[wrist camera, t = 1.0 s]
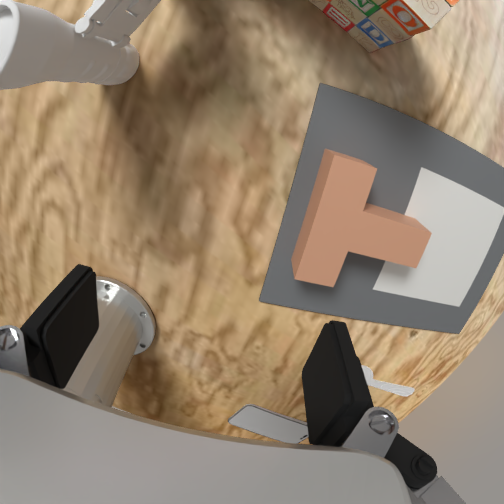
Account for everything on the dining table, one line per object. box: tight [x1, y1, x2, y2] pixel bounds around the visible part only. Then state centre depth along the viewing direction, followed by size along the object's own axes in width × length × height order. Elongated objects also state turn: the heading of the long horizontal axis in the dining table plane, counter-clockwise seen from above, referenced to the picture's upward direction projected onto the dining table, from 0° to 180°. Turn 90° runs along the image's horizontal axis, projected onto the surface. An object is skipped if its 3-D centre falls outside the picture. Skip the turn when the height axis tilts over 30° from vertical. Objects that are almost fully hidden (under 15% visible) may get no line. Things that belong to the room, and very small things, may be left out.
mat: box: [259, 83, 504, 334], centre depth 31 cm, size 24×31×1 cm
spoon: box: [361, 365, 414, 396], centre depth 42 cm, size 5×18×1 cm, turn 64°
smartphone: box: [228, 404, 308, 444], centre depth 48 cm, size 7×1×15 cm
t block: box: [291, 149, 432, 287], centre depth 29 cm, size 12×12×4 cm
